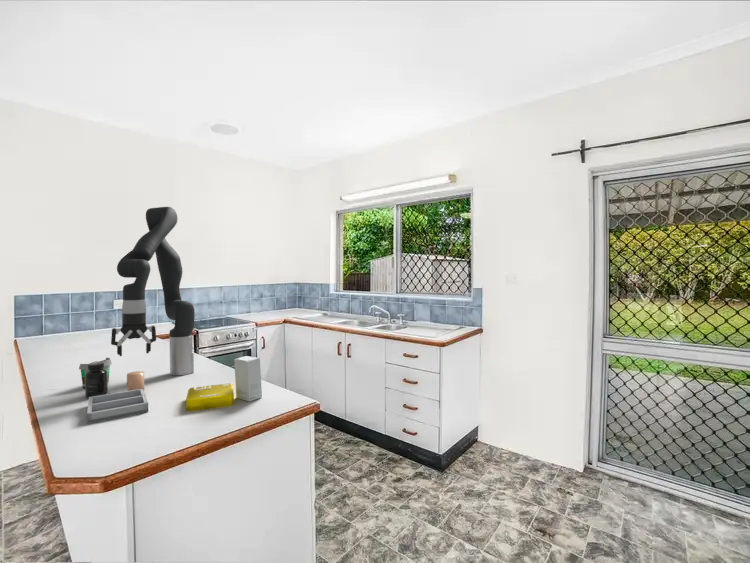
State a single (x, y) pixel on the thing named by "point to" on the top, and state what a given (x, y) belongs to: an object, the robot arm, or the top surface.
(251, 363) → the skincare box
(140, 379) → the peach rounded capsule
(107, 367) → the food container
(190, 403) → the element tile
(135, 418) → the top surface
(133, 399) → the rack
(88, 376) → the supplement bottle
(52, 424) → the top surface
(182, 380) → the top surface
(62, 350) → the top surface
